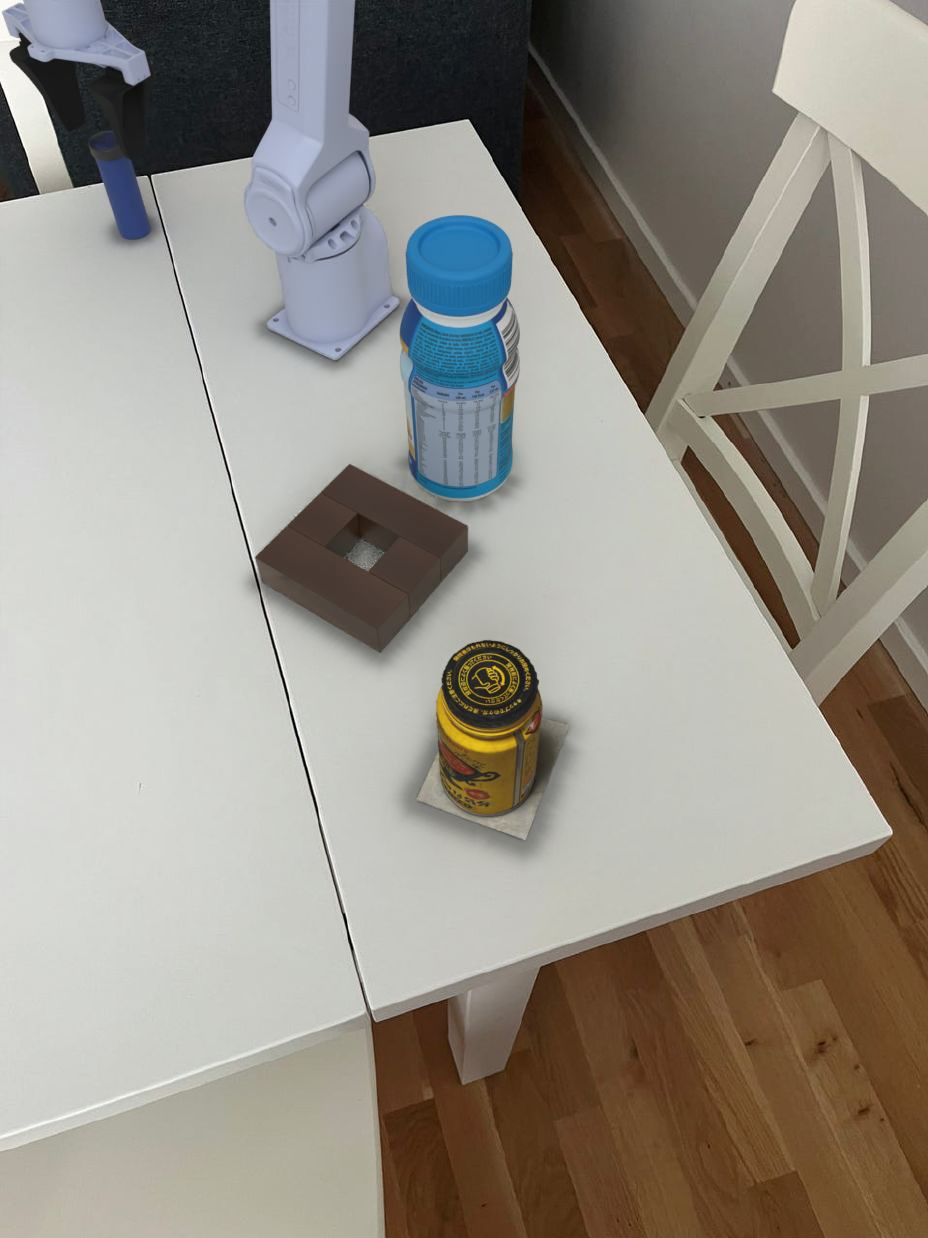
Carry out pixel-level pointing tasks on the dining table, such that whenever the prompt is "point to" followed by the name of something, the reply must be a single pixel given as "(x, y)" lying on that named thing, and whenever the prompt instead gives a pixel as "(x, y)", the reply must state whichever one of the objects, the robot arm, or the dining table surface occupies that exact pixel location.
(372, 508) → the holder
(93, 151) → the blue cylinder
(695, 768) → the dining table surface
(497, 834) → the dining table surface
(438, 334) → the beverage bottle
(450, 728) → the condiment
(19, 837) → the dining table surface
